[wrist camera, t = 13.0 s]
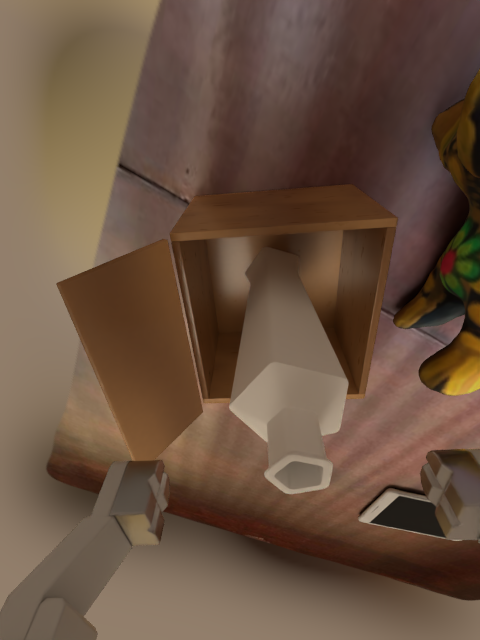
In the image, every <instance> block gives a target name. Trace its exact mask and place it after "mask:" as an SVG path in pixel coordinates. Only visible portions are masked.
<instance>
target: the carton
mask: <svg viewBox="0 0 480 640" xmlns="http://www.w3.org/2000/svg"><path fill="white" fill-rule="evenodd" d="M397 221H398V217H396V216H395V215H394V214H392V213H391V212H389V211H388V210H387V209H385V208H384V207H383V206H381V205H380V204H379V203H377V202H376V201H374V200H373V199H372V198H370V197H369V196H368V195H366V194H365V193H364V192H362V191H361V190H359V189H358V188H357V187H355V186H354V185H353V184H346V185H333V186H320V187H307V188H294V189H281V190H268V191H255V192H241V193H228V194H215V195H202V196H195V197H194V198H193V200H192V201H191V202H190V204H189V205H188V207H187V208H186V210H185V211H184V213H183V214H182V216H181V217H180V219H179V220H178V222H177V223H176V225H175V226H174V228H173V229H172V231H171V232H170V238H171V241H172V248H173V253H174V258H175V263H176V268H177V273H178V278H179V283H180V288H181V293H182V298H183V303H184V308H185V313H186V318H187V323H188V328H189V333H190V338H191V342H192V347H193V352H194V357H195V362H196V367H197V372H198V377H199V382H200V387H201V392H202V397H203V402H204V403H230V400H231V394H232V388H233V382H234V377H235V371H236V365H237V359H238V353H239V347H240V342H241V336H242V330H243V324H244V318H245V313H246V307H247V301H248V295H249V289H250V282H249V281H248V279H247V277H246V275H245V272H246V270H247V269H248V268H249V266H250V265H251V264H252V262H253V261H254V260H255V258H256V257H257V256H258V254H259V253H260V252H261V250H262V249H263V248H264V247H270V248H273V249H277V250H280V251H284V252H287V253H291V254H294V255H297V256H298V257H299V269H298V275H299V277H300V279H301V281H302V283H303V285H304V287H305V290H306V292H307V294H308V296H309V298H310V300H311V303H312V305H313V307H314V309H315V311H316V313H317V315H318V318H319V320H320V322H321V324H322V326H323V328H324V330H325V333H326V335H327V337H328V339H329V341H330V343H331V346H332V348H333V350H334V352H335V354H336V356H337V358H338V361H339V363H340V365H341V367H342V369H343V371H344V373H345V376H346V378H347V380H348V390H347V395H346V399H361V398H364V397H365V392H366V387H367V381H368V376H369V371H370V365H371V360H372V355H373V349H374V344H375V338H376V333H377V328H378V322H379V317H380V312H381V306H382V301H383V296H384V290H385V285H386V280H387V274H388V269H389V263H390V258H391V253H392V247H393V242H394V237H395V231H396V226H397Z"/></svg>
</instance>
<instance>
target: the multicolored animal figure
mask: <svg viewBox="0 0 480 640" xmlns="http://www.w3.org/2000/svg"><path fill="white" fill-rule="evenodd" d="M431 130H432V134H433V137H434V141H435V144H436V147H437V149H438V152H439V157H440V160H441V162H442V164H443V166H444V168H446V169H447V170H448V171H449V172H450V173H451V175H452V177H453V179H454V181H455V183H456V184H457V185H458V186H459V188H460V189H461V190H462V191H463V192H464V194H465V195H466V196H467V198H468V200H469V206H470V212H469V214H468V216H467V218H466V220H465V222H464V224H463V226H462V227H461V229H460V230H459V231H458V233H457V234H456V235H455V237H454V238H453V239H452V240H451V242H450V243H449V245H448V247H447V248H446V250H445V251H444V253H443V254H442V256H441V257H440V259H439V260H438V262H437V265H436V267H435V268H434V270H433V271H432V272H431V273H430V275H429V277H428V279H427V281H426V283H425V285H424V286H423V288H422V289H421V291H420V292H419V293H418V295H417V296H416V297H415V298H414V299H413V300H411V301H410V302H409V303H407V304H406V305H405V306H404V307H403V308H402V309H401V310H399V311H398V312H397V313H396V314H395V315H394V319H393V322H394V324H395V325H396V326H397V327H399V328H403V329H410V328H420V327H428V326H438V325H442V324H444V323H446V322H448V321H450V320H452V319H454V318H456V317H459V316H462V315H465V319H464V323H463V326H462V329H461V331H460V333H459V334H458V335H457V336H456V337H455V338H454V339H453V341H452V342H451V343H450V344H449V345H448V346H446V347H444V348H443V349H441V350H439V351H438V352H436V353H435V354H433V355H432V356H430V357H429V358H428V359H426V360H425V361H424V362H423V363H422V364H421V366H420V368H419V377H420V380H421V382H422V383H423V384H425V385H426V386H427V387H428V388H430V389H431V390H434V391H437V392H439V393H442V394H445V395H450V396H458V395H463V394H467V393H471V392H473V391H476V390H478V389H480V69H479V71H478V72H477V74H476V76H475V77H474V79H473V81H472V82H471V84H470V86H469V88H468V91H467V93H466V96H465V99H463V100H461V101H459V102H458V103H456V104H454V105H453V106H451V107H449V108H448V109H446V110H445V111H444V112H442V113H440V114H439V115H438V116H437V117H436V119H435V121H434V123H433V125H432V129H431Z"/></svg>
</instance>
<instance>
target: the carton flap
mask: <svg viewBox="0 0 480 640" xmlns="http://www.w3.org/2000/svg"><path fill="white" fill-rule="evenodd" d="M57 287H58V289H59V291H60V294H61V296H62V298H63V300H64V303H65V305H66V307H67V309H68V312H69V314H70V317H71V319H72V321H73V324H74V326H75V328H76V330H77V333H78V335H79V337H80V340H81V342H82V344H83V347H84V349H85V351H86V354H87V356H88V358H89V360H90V363H91V365H92V367H93V370H94V372H95V374H96V377H97V379H98V381H99V383H100V386H101V388H102V390H103V393H104V395H105V397H106V400H107V402H108V404H109V407H110V409H111V411H112V413H113V416H114V418H115V420H116V423H117V425H118V427H119V430H120V432H121V434H122V437H123V439H124V441H125V443H126V446H127V448H128V450H129V453H130V455H131V457H132V460H133V461H148V460H155V459H156V458H157V457H158V456H159V455H160V454H161V453H162V452H163V451H164V450H165V449H166V448H167V447H168V446H169V445H170V444H171V443H172V442H173V441H174V440H175V439H176V438H177V437H178V436H179V435H180V434H181V433H182V432H183V431H184V430H185V429H186V428H187V427H188V426H189V425H190V424H191V423H192V422H193V421H194V420H195V419H196V418H197V417H198V416H199V415H200V414H201V413H202V412H203V409H202V404H201V400H200V395H199V390H198V385H197V380H196V375H195V371H194V366H193V361H192V356H191V351H190V346H189V342H188V337H187V332H186V327H185V322H184V317H183V313H182V308H181V303H180V298H179V293H178V289H177V284H176V279H175V274H174V269H173V264H172V260H171V255H170V250H169V245H168V240H166V239H162V240H159V241H157V242H155V243H152V244H150V245H147V246H145V247H143V248H140V249H138V250H135V251H133V252H130V253H128V254H126V255H123V256H121V257H118V258H116V259H114V260H111V261H109V262H106V263H104V264H102V265H99V266H97V267H94V268H92V269H90V270H87V271H85V272H82V273H80V274H78V275H75V276H73V277H71V278H68V279H66V280H63V281H61V282H58V283H57Z"/></svg>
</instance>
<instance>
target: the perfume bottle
mask: <svg viewBox="0 0 480 640" xmlns="http://www.w3.org/2000/svg"><path fill="white" fill-rule="evenodd" d="M298 269H299V257H298V256H297V255H294V254H291V253H287V252H284V251H280V250H277V249H273V248H270V247H264V248H263V249H262V250H261V252H260V253H259V254H258V256H257V257H256V258H255V260H254V261H253V262H252V264H251V265H250V266H249V268H248V269H247V270H246V272H245V275H246V277H247V279H248V281H249V282H250V289H249V295H248V301H247V307H246V313H245V318H244V324H243V330H242V336H241V342H240V347H239V353H238V359H237V365H236V371H235V377H234V382H233V388H232V394H231V400H230V406H229V409H230V410H231V412H233V413H234V414H235V415H236V416H237V417H238V418H239V419H241V420H242V421H243V422H244V423H245V424H246V425H247V426H249V427H250V428H251V429H252V430H253V431H254V432H256V433H257V434H258V435H259V436H260V437H261V438H262V439H264V440H265V441H266V442H267V443H268V461H269V468H268V469H267V470H266V471H265V473H264V476H265V477H266V479H268V480H269V481H270V482H271V483H273V484H274V485H275V486H276V487H278V488H279V489H280V490H281V491H283V492H284V493H287V494H296V493H302V492H308V491H314V490H320V489H324V488H327V487H328V486H329V484H330V479H331V474H332V469H333V463H332V462H331V461H330V460H328V459H327V457H326V453H325V448H324V443H323V439H322V435H327V434H332V433H336V432H337V431H339V429H340V426H341V421H342V415H343V410H344V405H345V400H346V395H347V390H348V380H347V378H346V376H345V373H344V371H343V369H342V367H341V365H340V363H339V361H338V358H337V356H336V354H335V352H334V350H333V348H332V346H331V343H330V341H329V339H328V337H327V335H326V333H325V330H324V328H323V326H322V324H321V322H320V320H319V318H318V315H317V313H316V311H315V309H314V307H313V305H312V303H311V300H310V298H309V296H308V294H307V292H306V290H305V287H304V285H303V283H302V281H301V279H300V277H299V275H298Z"/></svg>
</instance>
